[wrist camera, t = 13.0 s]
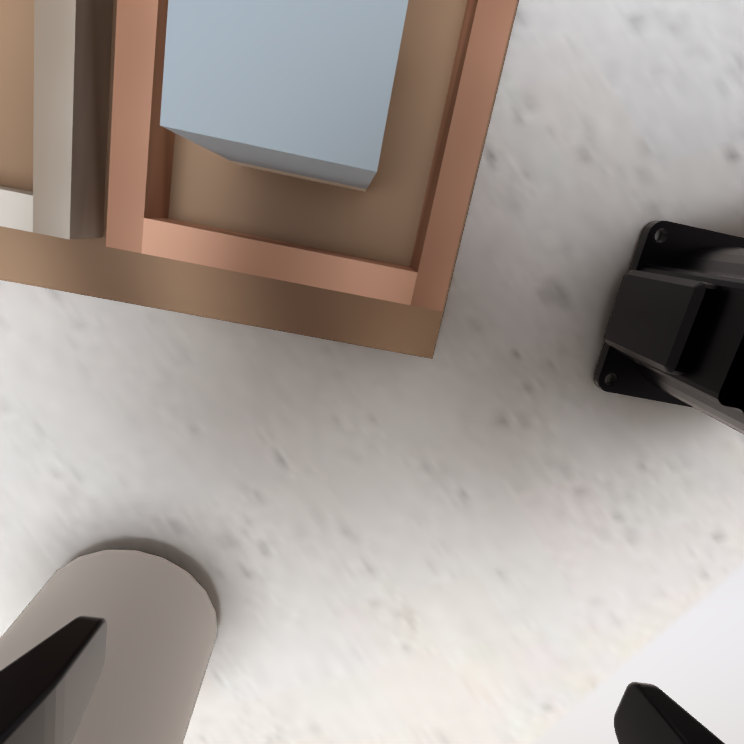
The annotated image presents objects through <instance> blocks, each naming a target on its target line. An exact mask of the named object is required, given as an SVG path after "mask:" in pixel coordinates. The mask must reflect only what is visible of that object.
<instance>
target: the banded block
mask: <svg viewBox="0 0 744 744" xmlns="http://www.w3.org/2000/svg"><path fill="white" fill-rule="evenodd" d="M407 6H408V0H168V12H167V27H166V42H165V57H164V72H163V86H162V101H161V116H160V126H162V127H164V128H166V129H168V130H170V131H172V132H174V133H176V134H178V135H180V136H182V137H184V138H186V139H188V140H190V141H192V142H194V143H196V144H198V145H200V146H202V147H204V148H206V149H208V150H210V151H212V152H214V153H216V154H218V155H220V156H222V157H224V158H226V159H228V160H230V161H232V162H234V163H236V164H238V165H240V166H243V167H248V168H253V169H258V170H262V171H267V172H272V173H277V174H281V175H286V176H291V177H296V178H300V179H305V180H310V181H315V182H320V183H324V184H329V185H334V186H339V187H343V188H348V189H353V190H358V191H363V192H365V191H366V190H367V188H368V186H369V185H370V183H371V181H372V179H373V178H374V176H375V174H376V173H377V169H378V163H379V158H380V152H381V147H382V141H383V136H384V131H385V125H386V120H387V114H388V109H389V103H390V98H391V93H392V87H393V82H394V76H395V71H396V65H397V60H398V55H399V49H400V44H401V38H402V33H403V27H404V22H405V17H406V11H407Z"/></svg>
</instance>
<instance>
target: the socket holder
mask: <svg viewBox="0 0 744 744" xmlns="http://www.w3.org/2000/svg"><path fill="white" fill-rule="evenodd" d="M518 3H519V0H408V6H407V11H406V17H405V22H404V27H403V33H402V38H401V44H400V49H399V55H398V60H397V65H396V71H395V76H394V82H393V87H392V93H391V98H390V103H389V109H388V114H387V120H386V125H385V131H384V136H383V141H382V147H381V152H380V158H379V163H378V169H377V173H376V174H375V176H374V178H373V179H372V181H371V183H370V185H369V186H368V188H367V190H366V191H365V192H363V191H358V190H353V189H348V188H343V187H339V186H334V185H329V184H324V183H320V182H315V181H310V180H305V179H300V178H296V177H291V176H286V175H281V174H277V173H272V172H267V171H262V170H258V169H253V168H248V167H243V166H240V165H238V164H236V163H234V162H232V161H230V160H228V159H226V158H224V157H222V156H220V155H218V154H216V153H214V152H212V151H210V150H208V149H206V148H204V147H202V146H200V145H198V144H196V143H194V142H192V141H190V140H188V139H186V138H184V137H182V136H180V135H178V134H176V133H174V132H172V131H170V130H168V129H166V128H164V127H162V126H160V116H161V101H162V86H163V72H164V57H165V42H166V27H167V12H168V0H0V280H5V281H10V282H16V283H21V284H27V285H32V286H38V287H43V288H49V289H54V290H60V291H65V292H70V293H76V294H81V295H87V296H92V297H98V298H103V299H109V300H114V301H120V302H125V303H131V304H136V305H141V306H147V307H152V308H158V309H163V310H169V311H174V312H180V313H185V314H191V315H196V316H202V317H207V318H213V319H218V320H223V321H229V322H234V323H240V324H245V325H251V326H256V327H262V328H267V329H273V330H278V331H284V332H289V333H294V334H300V335H305V336H311V337H316V338H322V339H327V340H333V341H338V342H344V343H349V344H355V345H360V346H366V347H371V348H376V349H382V350H387V351H393V352H398V353H404V354H409V355H415V356H420V357H426V358H431V359H432V358H433V354H434V350H435V346H436V342H437V338H438V333H439V329H440V325H441V321H442V317H443V313H444V309H445V305H446V300H447V296H448V292H449V288H450V284H451V280H452V276H453V271H454V267H455V263H456V259H457V255H458V251H459V247H460V242H461V238H462V234H463V230H464V226H465V222H466V218H467V214H468V209H469V205H470V201H471V197H472V193H473V189H474V185H475V180H476V176H477V172H478V168H479V164H480V160H481V156H482V151H483V147H484V143H485V139H486V135H487V131H488V127H489V123H490V118H491V114H492V110H493V106H494V102H495V98H496V94H497V89H498V85H499V81H500V77H501V73H502V69H503V65H504V60H505V56H506V52H507V48H508V44H509V40H510V36H511V32H512V27H513V23H514V19H515V15H516V11H517V7H518Z"/></svg>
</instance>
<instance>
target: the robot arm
mask: <svg viewBox="0 0 744 744" xmlns="http://www.w3.org/2000/svg"><path fill="white" fill-rule="evenodd" d="M658 229H660V230H661V232H662V237H661V238H660V240H659V241H656V240H655V233H656V231H657V230H658ZM604 339H605V344H604V347H603V349H602V352H601V355H600V358H599V361H598V364H597V367H596V370H595V373H594V383H595V384H596V385H597V386H598V387H599V388H601V389H602V390H604V391H607V392H612V393H618V394H623V395H628V396H634V397H639V398H645V399H650V400H656V401H661V402H667V403H672V404H678V405H683V406H689V407H694V408H696V409H698V410H700V411H702V412H704V413H705V414H707V415H709V416H711V417H713V418H715V419H716V420H718V421H720V422H722V423H724V424H726V425H728V426H729V427H731V428H733V429H735V430H737V431H739V432H740V433H742V434H744V238H741V237H736V236H732V235H727V234H723V233H718V232H714V231H709V230H705V229H700V228H696V227H691V226H687V225H682V224H678V223H673V222H669V221H653V222H651V223H649V224H648V225H647V226H646V227H645V228H644V230H643V232H642V235H641V238H640V241H639V244H638V246H637V249H636V252H635V255H634V258H633V261H632V264H631V267H630V270H629V272H628V273H626V274H625V275H624V277H623V280H622V283H621V286H620V289H619V292H618V295H617V298H616V301H615V304H614V307H613V310H612V313H611V316H610V319H609V322H608V325H607V328H606V331H605V334H604ZM610 373H612V378H611V380H610V381H609V382H605V377H606V376H607V375H608V374H610ZM106 642H107V621H106V619H104V618H102V617H93V616H85V615H82V616H79V617H76V618H75V619H73V620H72V621H70V622H69V623H67V624H66V625H65V626H63V627H62V628H60V629H59V630H57V631H56V632H55V633H53V634H52V635H50V636H49V637H47V638H46V639H45V640H43V641H42V642H40V643H39V644H37V645H36V646H35V647H33V648H32V649H30V650H29V651H27V652H26V653H25V654H23V655H22V656H20V657H19V658H17V659H16V660H14V661H13V662H12V663H10V664H9V665H7V666H6V667H4V668H3V669H2V670H0V744H71V743H72V741H73V739H74V736H75V734H76V732H77V729H78V727H79V725H80V722H81V720H82V718H83V715H84V713H85V711H86V708H87V706H88V704H89V701H90V699H91V697H92V694H93V692H94V690H95V687H96V685H97V683H98V680H99V678H100V676H101V673H102V670H103V667H104V663H105V658H106ZM614 728H615V733H616V736H617V739H618V742H619V744H724V743H723V742H722V741H721V740H720V739H718V738H717V737H716V736H715V735H714V734H713V733H711V732H710V731H709V730H708V729H707V728H706V727H704V726H703V725H702V724H701V723H700V722H698V721H697V720H696V719H695V718H694V717H692V716H691V715H690V714H689V713H688V712H687V711H685V710H684V709H683V708H682V707H681V706H679V705H678V704H677V703H676V702H675V701H674V700H672V699H671V698H670V697H669V696H668V695H666V694H665V693H664V692H663V691H662V690H660V689H659V688H658V687H656V686H654V685H652V684H646V683H638V682H632V683H630V684H629V685H628V686H627V688H626V690H625V692H624V695H623V697H622V699H621V702H620V704H619V706H618V708H617V711H616V713H615V716H614Z"/></svg>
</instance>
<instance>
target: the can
mask: <svg viewBox="0 0 744 744" xmlns="http://www.w3.org/2000/svg"><path fill="white" fill-rule="evenodd" d="M82 615H85V616H93V617H102V618H104V619H106V621H107V642H106V658H105V663H104V667H103V670H102V673H101V676H100V678H99V680H98V683H97V685H96V687H95V690H94V692H93V694H92V697H91V699H90V701H89V704H88V706H87V708H86V711H85V713H84V715H83V718H82V720H81V722H80V725H79V727H78V729H77V732H76V734H75V736H74V739H73V741H72V743H71V744H183V741H184V738H185V735H186V732H187V729H188V725H189V722H190V719H191V716H192V713H193V710H194V707H195V703H196V700H197V697H198V694H199V691H200V688H201V684H202V681H203V678H204V675H205V672H206V669H207V666H208V662H209V659H210V656H211V653H212V650H213V647H214V644H215V640H216V637H217V621H216V612H215V609H214V607H213V605H212V603H211V601H210V598H209V596H208V594H207V592H206V591H205V589H204V588H203V587H202V586H201V585H200V584H199V583H198V582H197V581H196V580H195V579H194V578H193V577H192V576H191V575H190V573H189V572H187V571H185V570H184V569H182V568H180V567H178V566H177V565H175V564H173V563H172V562H170V561H168V560H167V559H165V558H162V557H159V556H155V555H152V554H148V553H144V552H141V551H137V550H102V551H98V552H95V553H91V554H87V555H83V556H79V557H77V558H76V559H74V560H73V561H71V562H69V563H68V564H66V565H65V566H63V567H62V568H60V569H58V570H57V571H56V572H55V573H54V574H53V576H52V577H51V578H50V579H49V580H48V582H47V583H46V584H45V585H44V586H43V588H42V589H41V590H40V591H39V592H38V594H37V595H36V596H35V597H34V598H33V600H32V601H31V602H30V603H29V604H28V606H27V607H26V608H25V609H24V610H23V612H22V613H21V614H20V615H19V616H18V618H17V619H16V620H15V621H14V622H13V624H12V625H11V626H10V627H9V628H8V630H7V631H6V632H5V633H4V634H3V636H2V637H1V638H0V670H2V669H3V668H4V667H6V666H7V665H9V664H10V663H12V662H13V661H14V660H16V659H17V658H19V657H20V656H22V655H23V654H25V653H26V652H27V651H29V650H30V649H32V648H33V647H35V646H36V645H37V644H39V643H40V642H42V641H43V640H45V639H46V638H47V637H49V636H50V635H52V634H53V633H55V632H56V631H57V630H59V629H60V628H62V627H63V626H65V625H66V624H67V623H69V622H70V621H72V620H73V619H75V618H76V617H79V616H82Z"/></svg>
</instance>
